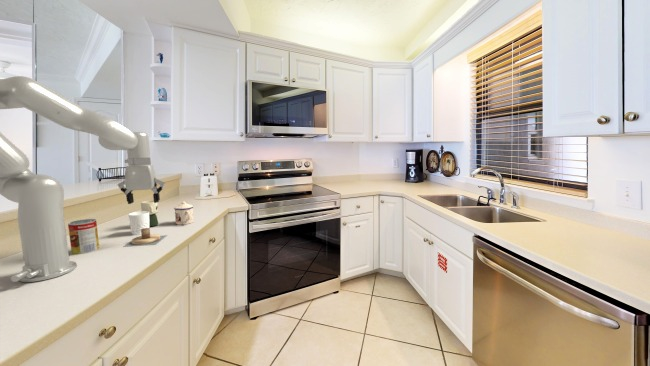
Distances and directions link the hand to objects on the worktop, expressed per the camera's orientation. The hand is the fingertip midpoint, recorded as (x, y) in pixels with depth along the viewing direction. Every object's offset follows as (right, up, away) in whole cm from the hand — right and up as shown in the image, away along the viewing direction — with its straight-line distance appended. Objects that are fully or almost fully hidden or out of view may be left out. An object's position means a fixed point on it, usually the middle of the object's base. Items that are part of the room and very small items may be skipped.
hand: (143, 202), depth 107 cm
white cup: (-11, -16, +13) cm, 23 cm away
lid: (0, -17, +2) cm, 17 cm away
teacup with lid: (+1, -14, +30) cm, 33 cm away
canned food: (-16, -19, -9) cm, 26 cm away
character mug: (-14, -14, +25) cm, 32 cm away
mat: (0, -17, +2) cm, 17 cm away
